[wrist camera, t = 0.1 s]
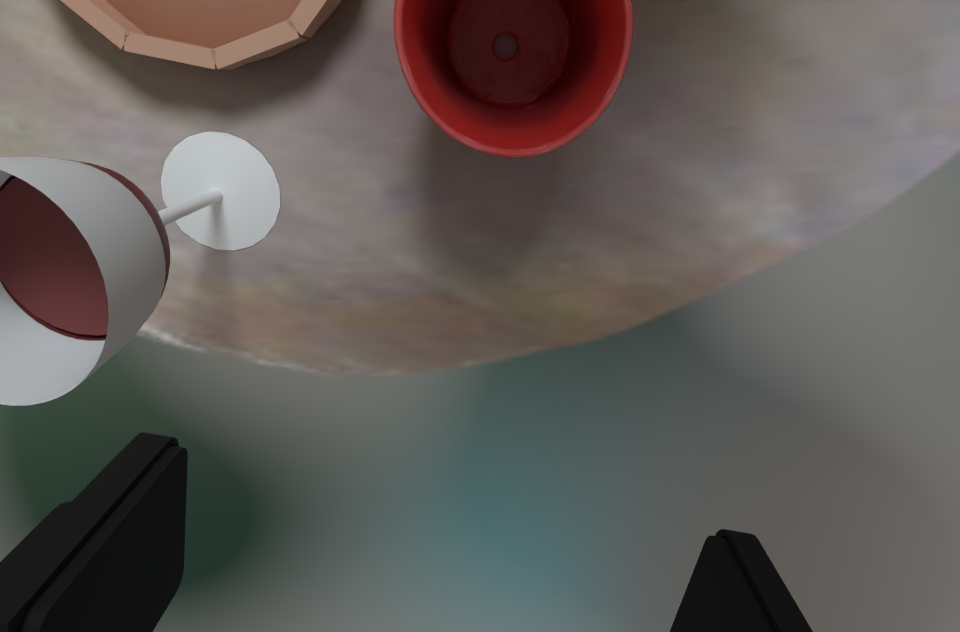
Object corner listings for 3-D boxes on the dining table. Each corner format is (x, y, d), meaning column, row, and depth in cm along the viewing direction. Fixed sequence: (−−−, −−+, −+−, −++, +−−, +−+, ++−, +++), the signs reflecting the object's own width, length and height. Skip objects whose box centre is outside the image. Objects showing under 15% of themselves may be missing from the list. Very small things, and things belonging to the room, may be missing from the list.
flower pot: (431, 151, 39) (415, 173, 30) (401, -49, 35) (372, -93, 26) (603, 128, 39) (639, 144, 30) (591, -77, 35) (628, -132, 26)
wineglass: (154, 244, 41) (-120, 380, 23) (161, 107, 38) (-148, 134, 20) (275, 271, 42) (105, 425, 23) (291, 138, 39) (112, 194, 20)
